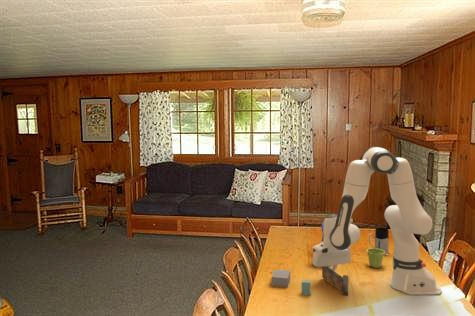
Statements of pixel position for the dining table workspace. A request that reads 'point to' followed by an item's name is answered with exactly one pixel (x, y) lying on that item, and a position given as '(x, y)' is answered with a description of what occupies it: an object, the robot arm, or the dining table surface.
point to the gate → (332, 277)
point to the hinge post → (345, 285)
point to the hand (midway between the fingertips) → (331, 273)
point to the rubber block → (281, 278)
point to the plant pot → (375, 257)
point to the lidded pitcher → (381, 239)
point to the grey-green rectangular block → (306, 287)
